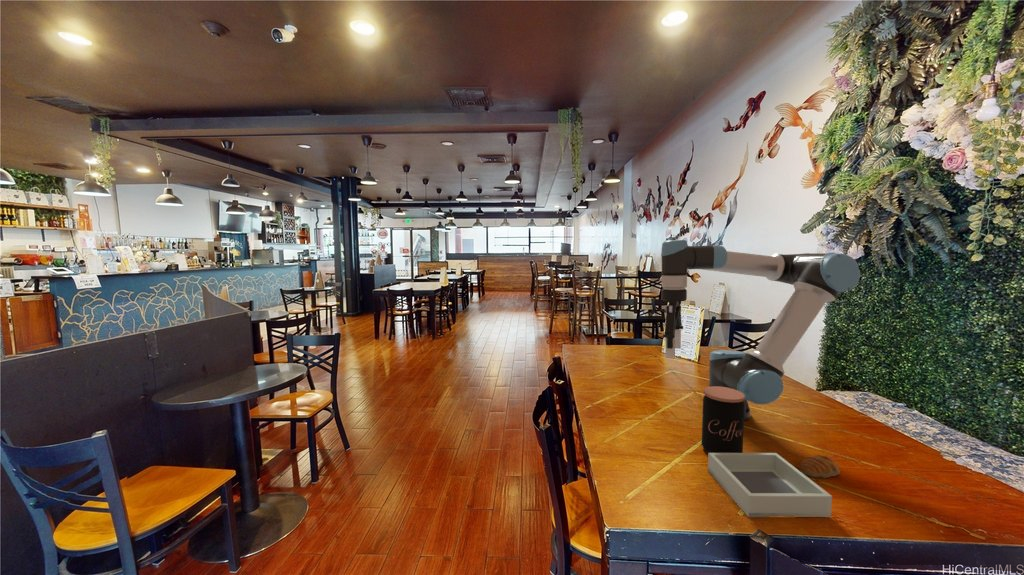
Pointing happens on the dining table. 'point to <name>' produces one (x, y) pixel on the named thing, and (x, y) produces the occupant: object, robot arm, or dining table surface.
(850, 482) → the dining table surface
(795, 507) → the tray
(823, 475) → the pastry
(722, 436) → the coffee jar
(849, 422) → the dining table surface
